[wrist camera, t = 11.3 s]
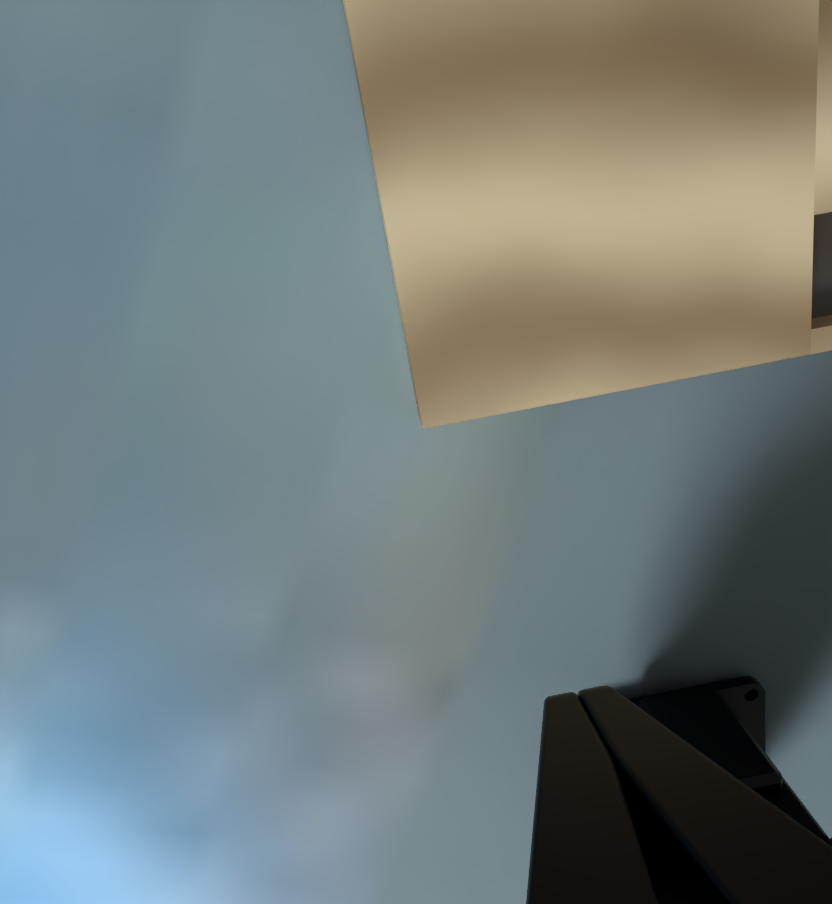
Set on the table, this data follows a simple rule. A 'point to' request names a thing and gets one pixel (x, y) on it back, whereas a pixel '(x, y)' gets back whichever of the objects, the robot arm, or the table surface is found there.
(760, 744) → the robot arm
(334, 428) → the table surface
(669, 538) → the table surface
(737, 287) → the trap board
